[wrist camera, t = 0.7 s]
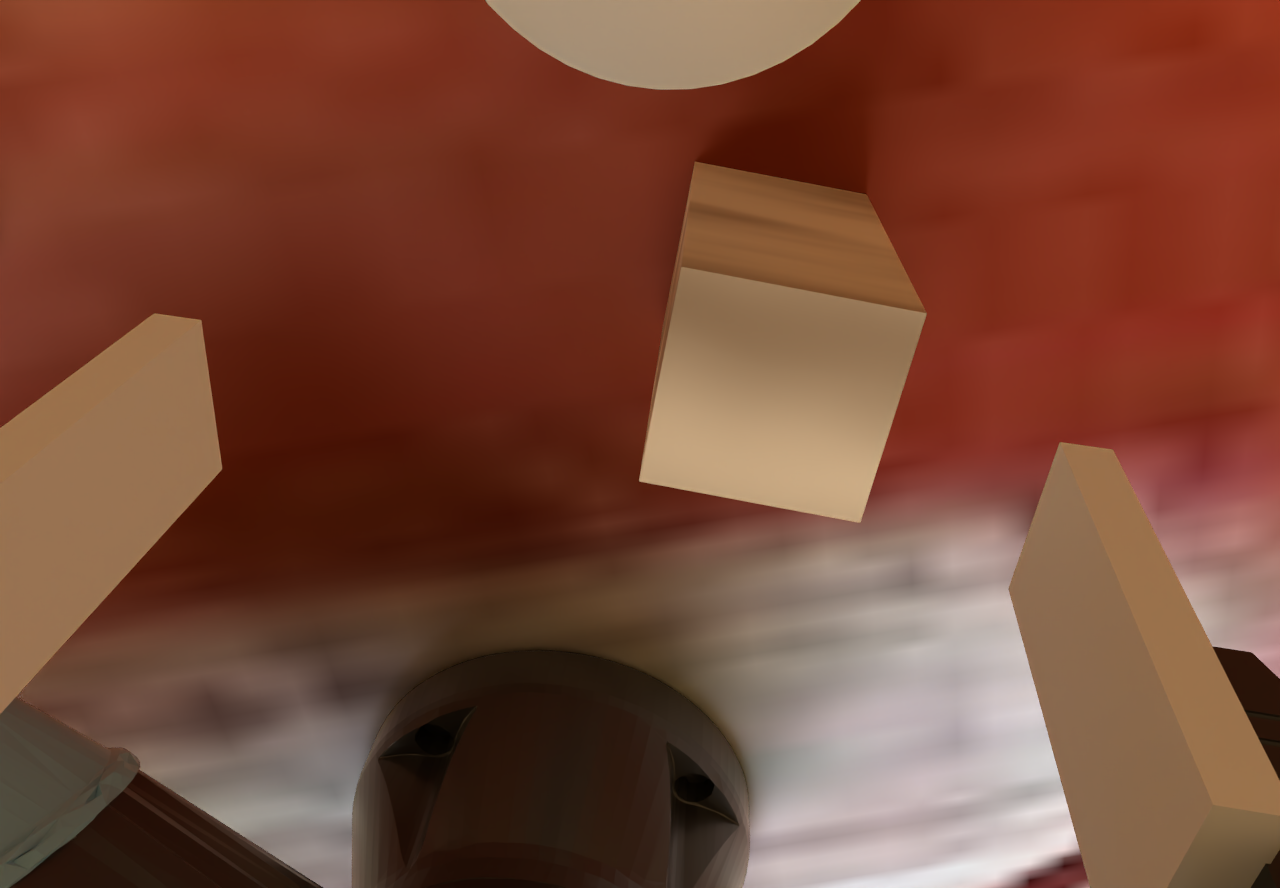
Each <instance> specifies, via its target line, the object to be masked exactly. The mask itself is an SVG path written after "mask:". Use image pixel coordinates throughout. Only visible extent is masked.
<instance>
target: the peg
mask: <svg viewBox="0 0 1280 888" xmlns="http://www.w3.org/2000/svg"><path fill="white" fill-rule="evenodd" d="M926 315H927V313H926V311H925V309H924V307H923V305H922V303H921V301H920V299H919V297H918V295H917V293H916V291H915V289H914V287H913V285H912V283H911V281H910V279H909V277H908V275H907V273H906V271H905V269H904V267H903V265H902V263H901V261H900V259H899V257H898V255H897V253H896V251H895V249H894V247H893V245H892V243H891V241H890V239H889V237H888V236H887V234H886V232H885V230H884V228H883V226H882V224H881V222H880V220H879V218H878V216H877V214H876V212H875V210H874V208H873V206H872V204H871V202H870V200H869V198H868V196H867V194H862V193H857V192H851V191H846V190H841V189H836V188H831V187H825V186H820V185H815V184H810V183H804V182H799V181H794V180H789V179H784V178H778V177H773V176H768V175H763V174H758V173H752V172H747V171H742V170H737V169H732V168H726V167H721V166H716V165H711V164H705V163H700V162H695V163H694V168H693V173H692V179H691V184H690V189H689V194H688V199H687V204H686V209H685V215H684V220H683V225H682V230H681V235H680V240H679V245H678V250H677V256H676V261H675V266H674V271H673V276H672V281H671V286H670V292H669V297H668V302H667V307H666V312H665V317H664V322H663V328H662V335H661V341H660V348H659V354H658V361H657V367H656V374H655V380H654V387H653V393H652V400H651V406H650V413H649V419H648V426H647V432H646V438H645V445H644V451H643V458H642V464H641V471H640V477H639V482H645V483H650V484H655V485H661V486H666V487H671V488H677V489H682V490H687V491H693V492H698V493H703V494H709V495H714V496H719V497H725V498H730V499H735V500H741V501H746V502H751V503H757V504H762V505H767V506H773V507H778V508H783V509H789V510H794V511H799V512H805V513H810V514H815V515H821V516H826V517H831V518H837V519H842V520H847V521H853V522H858V523H860V522H861V519H862V516H863V512H864V509H865V506H866V503H867V500H868V497H869V494H870V490H871V487H872V484H873V481H874V478H875V475H876V472H877V468H878V465H879V462H880V459H881V456H882V453H883V450H884V447H885V443H886V440H887V437H888V434H889V431H890V428H891V425H892V421H893V418H894V415H895V412H896V409H897V406H898V403H899V399H900V396H901V393H902V390H903V387H904V384H905V381H906V377H907V374H908V371H909V368H910V365H911V362H912V359H913V356H914V352H915V349H916V346H917V343H918V340H919V337H920V334H921V330H922V327H923V324H924V321H925V318H926Z"/></svg>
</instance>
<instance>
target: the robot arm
mask: <svg viewBox="0 0 1280 888" xmlns="http://www.w3.org/2000/svg"><path fill="white" fill-rule="evenodd" d="M221 470H222V463H221V455H220V448H219V441H218V434H217V427H216V420H215V413H214V406H213V399H212V392H211V385H210V378H209V371H208V364H207V357H206V350H205V343H204V336H203V328H202V321H201V320H198V319H191V318H184V317H177V316H170V315H163V314H156V313H154V314H153V315H151V316H150V317H149V318H147V319H146V320H144V321H143V322H142V323H140V324H139V325H138V326H136V327H135V328H134V329H132V330H131V331H130V332H128V333H127V334H126V335H124V336H123V337H122V338H120V339H119V340H118V341H116V342H115V343H114V344H112V345H111V346H110V347H108V348H107V349H106V350H104V351H103V352H102V353H100V354H99V355H98V356H96V357H95V358H94V359H92V360H91V361H89V362H88V363H87V364H85V365H84V366H83V367H81V368H80V369H79V370H77V371H76V372H75V373H73V374H72V375H71V376H69V377H68V378H67V379H65V380H64V381H63V382H61V383H60V384H59V385H57V386H56V387H55V388H53V389H52V390H51V391H49V392H48V393H47V394H45V395H44V396H43V397H41V398H40V399H39V400H37V401H36V402H34V403H33V404H32V405H30V406H29V407H28V408H26V409H25V410H24V411H22V412H21V413H20V414H18V415H17V416H16V417H14V418H13V419H12V420H10V421H9V422H8V423H6V424H5V425H4V426H2V427H1V428H0V888H323V887H321V886H320V885H318V884H316V883H315V882H313V881H312V880H310V879H309V878H307V877H306V876H304V875H302V874H301V873H299V872H298V871H296V870H295V869H293V868H291V867H290V866H288V865H287V864H285V863H284V862H282V861H281V860H279V859H277V858H276V857H274V856H273V855H271V854H270V853H268V852H267V851H265V850H263V849H262V848H260V847H259V846H257V845H256V844H254V843H253V842H251V841H249V840H248V839H246V838H245V837H243V836H242V835H240V834H239V833H237V832H235V831H234V830H232V829H231V828H229V827H228V826H226V825H225V824H223V823H221V822H220V821H218V820H217V819H215V818H214V817H212V816H211V815H209V814H207V813H206V812H204V811H203V810H201V809H200V808H198V807H197V806H195V805H193V804H192V803H190V802H189V801H187V800H186V799H184V798H183V797H181V796H179V795H178V794H176V793H175V792H173V791H172V790H170V789H169V788H167V787H165V786H164V785H162V784H161V783H159V782H158V781H156V780H155V779H153V778H151V777H150V776H148V775H147V774H145V773H144V772H142V771H141V770H139V768H140V762H139V760H138V758H137V757H136V756H134V755H133V754H132V753H131V752H130V751H128V750H126V749H124V748H121V747H119V748H106V747H104V746H102V745H100V744H99V743H97V742H95V741H93V740H92V739H90V738H88V737H86V736H85V735H83V734H81V733H79V732H77V731H76V730H74V729H72V728H70V727H69V726H67V725H65V724H63V723H62V722H60V721H58V720H56V719H55V718H53V717H51V716H49V715H47V714H46V713H44V712H42V711H40V710H39V709H37V708H35V707H33V706H32V705H30V704H28V703H26V702H25V701H23V700H21V699H19V698H17V697H16V696H17V695H18V694H19V693H20V692H21V691H22V690H23V688H24V687H25V686H26V685H27V684H28V683H29V682H30V681H31V680H32V679H33V677H34V676H35V675H36V674H37V673H38V672H39V671H40V670H41V669H42V668H43V666H44V665H45V664H46V663H47V662H48V661H49V660H50V659H51V658H52V656H53V655H54V654H55V653H56V652H57V651H58V650H59V649H60V648H61V647H62V645H63V644H64V643H65V642H66V641H67V640H68V639H69V638H70V637H71V636H72V634H73V633H74V632H75V631H76V630H77V629H78V628H79V627H80V626H81V625H82V623H83V622H84V621H85V620H86V619H87V618H88V617H89V616H90V615H91V613H92V612H93V611H94V610H95V609H96V608H97V607H98V606H99V605H100V604H101V602H102V601H103V600H104V599H105V598H106V597H107V596H108V595H109V594H110V593H111V591H112V590H113V589H114V588H115V587H116V586H117V585H118V584H119V583H120V582H121V580H122V579H123V578H124V577H125V576H126V575H127V574H128V573H129V572H130V570H131V569H132V568H133V567H134V566H135V565H136V564H137V563H138V562H139V561H140V559H141V558H142V557H143V556H144V555H145V554H146V553H147V552H148V551H149V550H150V548H151V547H152V546H153V545H154V544H155V543H156V542H157V541H158V540H159V539H160V537H161V536H162V535H163V534H164V533H165V532H166V531H167V530H168V529H169V527H170V526H171V525H172V524H173V523H174V522H175V521H176V520H177V519H178V518H179V516H180V515H181V514H182V513H183V512H184V511H185V510H186V509H187V508H188V507H189V505H190V504H191V503H192V502H193V501H194V500H195V499H196V498H197V497H198V496H199V494H200V493H201V492H202V491H203V490H204V489H205V488H206V487H207V486H208V484H209V483H210V482H211V481H212V480H213V479H214V478H215V477H216V476H217V475H218V473H219V472H220V471H221ZM1009 592H1010V596H1011V600H1012V603H1013V607H1014V610H1015V614H1016V618H1017V621H1018V625H1019V629H1020V632H1021V636H1022V640H1023V643H1024V647H1025V651H1026V654H1027V658H1028V662H1029V665H1030V669H1031V673H1032V676H1033V680H1034V684H1035V687H1036V691H1037V695H1038V698H1039V702H1040V706H1041V709H1042V713H1043V717H1044V720H1045V724H1046V728H1047V731H1048V735H1049V739H1050V742H1051V746H1052V750H1053V753H1054V757H1055V761H1056V764H1057V768H1058V772H1059V775H1060V779H1061V782H1062V786H1063V790H1064V793H1065V797H1066V801H1067V804H1068V808H1069V812H1070V815H1071V819H1072V823H1073V826H1074V830H1075V834H1076V837H1077V841H1078V845H1079V848H1080V852H1081V856H1082V859H1083V863H1084V867H1085V870H1086V874H1087V878H1088V881H1089V885H1090V888H1280V679H1279V678H1278V677H1277V676H1276V675H1275V674H1274V673H1273V672H1272V671H1271V670H1270V669H1269V668H1268V667H1267V666H1265V665H1264V664H1263V663H1262V662H1261V661H1260V660H1259V659H1258V658H1257V657H1256V656H1255V655H1254V654H1253V653H1251V652H1245V651H1238V650H1232V649H1225V648H1219V647H1212V645H1211V643H1210V641H1209V639H1208V637H1207V635H1206V633H1205V631H1204V629H1203V627H1202V625H1201V623H1200V621H1199V619H1198V617H1197V615H1196V613H1195V611H1194V609H1193V608H1192V606H1191V604H1190V602H1189V600H1188V598H1187V596H1186V594H1185V592H1184V590H1183V588H1182V586H1181V584H1180V582H1179V580H1178V578H1177V576H1176V574H1175V572H1174V570H1173V568H1172V566H1171V564H1170V562H1169V560H1168V558H1167V556H1166V554H1165V552H1164V550H1163V548H1162V546H1161V544H1160V542H1159V540H1158V538H1157V536H1156V534H1155V532H1154V530H1153V528H1152V526H1151V524H1150V522H1149V520H1148V518H1147V516H1146V514H1145V512H1144V510H1143V508H1142V506H1141V504H1140V502H1139V500H1138V498H1137V496H1136V494H1135V492H1134V490H1133V488H1132V486H1131V484H1130V482H1129V480H1128V478H1127V476H1126V474H1125V472H1124V470H1123V468H1122V466H1121V464H1120V462H1119V461H1118V459H1117V457H1116V455H1115V453H1114V451H1113V450H1112V449H1105V448H1098V447H1091V446H1084V445H1077V444H1070V443H1063V442H1060V443H1059V446H1058V449H1057V452H1056V454H1055V457H1054V460H1053V463H1052V466H1051V469H1050V472H1049V474H1048V477H1047V480H1046V483H1045V486H1044V489H1043V492H1042V495H1041V497H1040V500H1039V503H1038V506H1037V509H1036V512H1035V515H1034V517H1033V520H1032V523H1031V526H1030V529H1029V532H1028V535H1027V537H1026V540H1025V543H1024V546H1023V549H1022V552H1021V555H1020V557H1019V560H1018V563H1017V566H1016V569H1015V572H1014V575H1013V578H1012V580H1011V583H1010V586H1009ZM749 850H750V831H749V799H748V791H747V785H746V782H745V778H744V774H743V772H742V769H741V766H740V764H739V762H738V759H737V757H736V755H735V753H734V751H733V750H732V748H731V746H730V745H729V743H728V742H727V740H726V739H725V737H724V736H723V734H722V733H721V732H720V731H719V729H718V728H717V727H716V726H715V725H714V723H713V722H712V721H711V720H710V719H709V718H708V717H707V716H706V715H705V714H704V713H703V712H702V711H701V710H699V709H698V708H697V707H696V706H695V705H694V704H693V703H691V702H690V701H689V700H687V699H686V698H685V697H683V696H682V695H681V694H679V693H678V692H676V691H675V690H673V689H672V688H670V687H668V686H667V685H665V684H663V683H661V682H660V681H658V680H656V679H654V678H652V677H650V676H648V675H646V674H644V673H641V672H639V671H637V670H634V669H632V668H629V667H627V666H624V665H621V664H618V663H615V662H611V661H608V660H604V659H601V658H596V657H592V656H587V655H581V654H575V653H568V652H558V651H518V652H507V653H501V654H494V655H489V656H485V657H480V658H477V659H473V660H470V661H466V662H464V663H461V664H458V665H456V666H453V667H451V668H448V669H446V670H444V671H442V672H440V673H438V674H436V675H434V676H433V677H431V678H429V679H427V680H426V681H424V682H423V683H421V684H420V685H418V686H417V687H416V688H415V689H413V690H412V691H411V692H410V693H408V694H407V695H406V696H405V697H404V698H403V699H402V700H401V701H400V702H399V703H398V704H397V705H396V706H395V708H394V709H393V710H392V711H391V713H390V714H389V715H388V717H387V718H386V719H385V721H384V723H383V725H382V726H381V728H380V730H379V732H378V734H377V737H376V739H375V741H374V743H373V746H372V748H371V751H370V753H369V755H368V758H367V760H366V762H365V765H364V767H363V769H362V772H361V775H360V778H359V781H358V784H357V788H356V793H355V798H354V802H353V811H352V888H742V887H743V884H744V881H745V877H746V873H747V867H748V860H749Z"/></svg>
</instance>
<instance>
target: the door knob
mask: <svg viewBox="0 0 1280 888" xmlns="http://www.w3.org/2000/svg"><path fill="white" fill-rule="evenodd" d="M485 1H486V2H487V3H488V5H489V6H490V7H491V8H492V9H493V10H494V11H495V12H496V13H497V14H498V15H499V16H500V17H501V18H502V19H504V20H505V21H506V22H507V23H508V24H509V25H510V26H511V27H512V28H513V29H514V30H515V31H516V32H518V33H519V34H520V35H522V36H523V37H524V38H526V39H527V40H528V41H529V42H531V43H532V44H533V45H535V46H536V47H537V48H539V49H540V50H542V51H543V52H545V53H547V54H549V55H550V56H552V57H554V58H556V59H557V60H559V61H561V62H562V63H564V64H566V65H568V66H570V67H572V68H575V69H577V70H580V71H582V72H584V73H587V74H589V75H592V76H594V77H597V78H600V79H604V80H607V81H611V82H615V83H619V84H623V85H626V86H633V87H641V88H649V89H657V90H673V89H695V88H702V87H708V86H715V85H721V84H725V83H728V82H732V81H735V80H739V79H742V78H745V77H749V76H752V75H755V74H757V73H759V72H761V71H764V70H766V69H768V68H770V67H773V66H775V65H777V64H779V63H782V62H784V61H785V60H787V59H789V58H790V57H792V56H793V55H795V54H797V53H798V52H800V51H802V50H803V49H805V48H807V47H808V46H810V45H812V44H813V43H814V42H815V41H817V40H818V39H819V38H820V37H822V36H823V35H824V34H825V33H827V32H828V31H829V30H830V29H832V28H833V27H834V26H835V25H837V24H838V23H839V22H840V21H841V20H842V19H843V18H844V17H845V16H846V15H847V14H848V13H849V12H850V11H851V10H852V9H853V8H854V7H855V6H856V5H857V4H858V3H859V2H860V1H861V0H485Z"/></svg>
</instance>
